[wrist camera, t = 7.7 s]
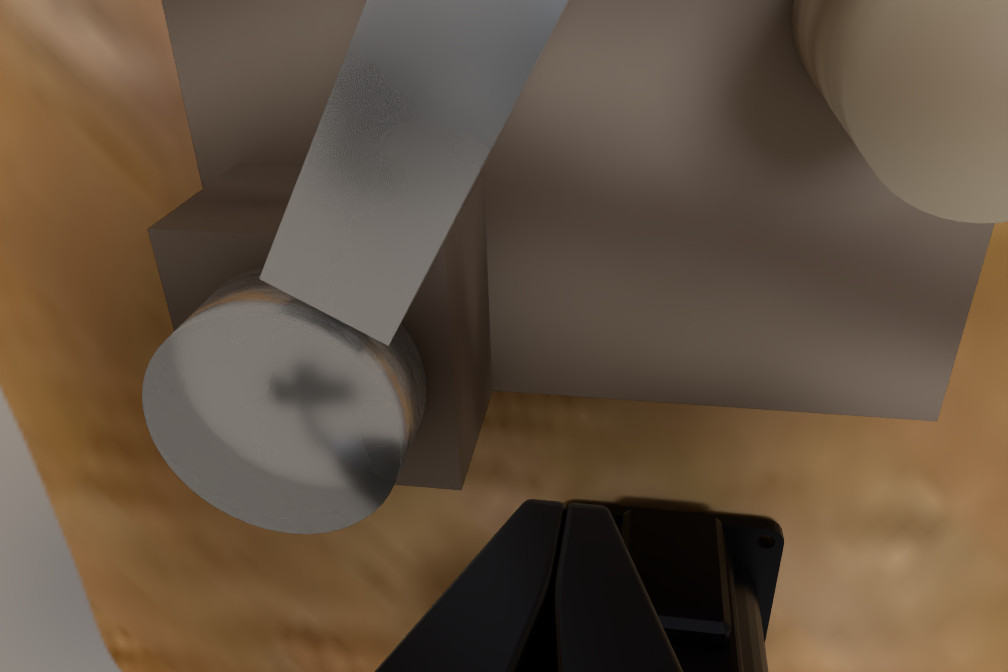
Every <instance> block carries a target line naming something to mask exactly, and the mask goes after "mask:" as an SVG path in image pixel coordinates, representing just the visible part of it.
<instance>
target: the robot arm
mask: <svg viewBox="0 0 1008 672" xmlns="http://www.w3.org/2000/svg"><path fill="white" fill-rule="evenodd" d="M765 535H768V536H772V537H770V538H767V539H762V538H759V537H761V536H765ZM783 546H784V538H783V532H782V528H781V527H780V525H779V524H777V523H776V522H774V521H771V520H767V519H756V518H744V517H733V516H722V515H710V514H699V513H688V512H676V511H665V510H654V509H642V508H631V507H620V506H609V505H597V504H586V503H571V504H569V505H567V506H566V507H565V505H564V504H563V503H562V502H558V501H547V500H536V499H529V500H527V501H525V502H524V503H523V504H522V505H521V506H520V507H519V508H518V509H517V510H516V512H515V513H514V514H513V515H512V516H511V517H510V518H509V520H508V521H507V522H506V523H505V524H504V525H503V526H502V528H501V529H500V530H499V531H498V532H497V533H496V534H495V535H494V537H493V538H492V539H491V540H490V541H489V542H488V543H487V545H486V546H485V547H484V548H483V549H482V550H481V551H480V553H479V554H478V555H477V556H476V557H475V558H474V559H473V560H472V562H471V563H470V564H469V565H468V566H467V567H466V568H465V570H464V571H463V572H462V573H461V574H460V575H459V576H458V578H457V579H456V580H455V581H454V582H453V583H452V584H451V585H450V587H449V588H448V589H447V590H446V591H445V592H444V593H443V595H442V596H441V597H440V598H439V599H438V600H437V601H436V603H435V604H434V605H433V606H432V607H431V608H430V609H429V610H428V612H427V613H426V614H425V615H424V616H423V617H422V618H421V620H420V621H419V622H418V623H417V624H416V625H415V626H414V628H413V629H412V630H411V631H410V632H409V633H408V634H407V635H406V637H405V638H404V639H403V640H402V641H401V642H400V643H399V645H398V646H397V647H396V648H395V649H394V650H393V651H392V653H391V654H390V655H389V656H388V657H387V658H386V659H385V660H384V662H383V663H382V664H381V665H380V666H379V667H378V668H377V670H376V671H375V672H768V666H767V658H766V651H765V639H766V634H767V629H768V624H769V619H770V613H771V608H772V603H773V598H774V593H775V588H776V582H777V577H778V572H779V567H780V562H781V557H782V552H783Z"/></svg>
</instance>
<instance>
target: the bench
mask: <svg viewBox="0 0 1008 672" xmlns="http://www.w3.org/2000/svg"><path fill="white" fill-rule="evenodd" d="M366 1H367V0H162V4H163V9H164V13H165V18H166V22H167V27H168V31H169V36H170V41H171V45H172V50H173V54H174V59H175V63H176V68H177V73H178V77H179V82H180V86H181V91H182V95H183V100H184V105H185V109H186V114H187V118H188V123H189V127H190V132H191V137H192V141H193V146H194V150H195V155H196V159H197V164H198V169H199V173H200V178H201V182H202V187H203V189H202V190H201V191H199V192H198V193H196V194H195V195H194V196H192V197H191V198H190V199H188V200H187V201H185V202H184V203H183V204H181V205H180V206H179V207H177V208H176V209H175V210H173V211H172V212H170V213H169V214H168V215H166V216H165V217H164V218H162V219H161V220H160V221H158V222H157V223H155V224H154V225H153V226H151V227H150V228H149V229H148V232H149V236H150V240H151V244H152V248H153V251H154V255H155V259H156V263H157V267H158V271H159V274H160V278H161V282H162V286H163V290H164V294H165V297H166V301H167V305H168V309H169V313H170V317H171V321H172V324H173V328H174V331H175V330H176V329H177V328H178V327H179V326H180V325H182V324H183V323H184V322H185V321H186V320H187V319H188V318H189V317H190V316H191V315H192V314H193V313H194V312H195V311H196V310H197V309H198V308H199V307H200V306H201V305H202V304H203V303H204V302H205V301H206V300H207V299H208V298H209V297H210V296H211V295H212V294H213V293H214V292H215V291H216V290H217V289H218V288H219V287H220V286H222V285H223V284H225V283H226V282H227V281H229V280H230V279H232V278H234V277H236V276H238V275H240V274H242V273H244V272H248V271H251V270H254V269H257V268H263V267H264V265H265V262H266V260H267V257H268V255H269V252H270V250H271V247H272V244H273V242H274V239H275V237H276V234H277V231H278V229H279V226H280V224H281V221H282V218H283V216H284V213H285V211H286V208H287V206H288V203H289V200H290V198H291V195H292V193H293V190H294V187H295V185H296V182H297V180H298V177H299V175H300V172H301V169H302V167H303V164H304V162H305V159H306V156H307V154H308V151H309V149H310V146H311V143H312V141H313V138H314V136H315V133H316V131H317V128H318V125H319V123H320V120H321V118H322V115H323V112H324V110H325V107H326V105H327V102H328V99H329V97H330V94H331V92H332V89H333V87H334V84H335V81H336V79H337V76H338V74H339V71H340V68H341V66H342V63H343V61H344V58H345V55H346V53H347V50H348V48H349V45H350V43H351V40H352V37H353V35H354V32H355V30H356V27H357V24H358V22H359V19H360V17H361V14H362V12H363V9H364V6H365V4H366ZM793 3H794V0H570V1H569V3H568V5H567V7H566V9H565V11H564V13H563V15H562V17H561V19H560V20H559V22H558V24H557V26H556V28H555V30H554V32H553V34H552V36H551V38H550V40H549V42H548V44H547V45H546V47H545V49H544V51H543V53H542V55H541V57H540V59H539V61H538V63H537V65H536V67H535V69H534V70H533V72H532V74H531V76H530V78H529V80H528V82H527V84H526V86H525V88H524V90H523V92H522V93H521V95H520V97H519V99H518V101H517V103H516V105H515V107H514V109H513V111H512V113H511V115H510V117H509V118H508V120H507V122H506V124H505V126H504V128H503V130H502V132H501V134H500V136H499V138H498V140H497V142H496V143H495V145H494V147H493V149H492V151H491V153H490V155H489V157H488V159H487V161H486V163H485V165H484V167H483V168H482V170H481V172H480V174H479V176H478V178H477V180H476V182H475V184H474V186H473V188H472V190H471V191H470V193H469V195H468V197H467V199H466V201H465V203H464V205H463V207H462V209H461V211H460V213H459V215H458V216H457V218H456V220H455V222H454V224H453V226H452V228H451V230H450V232H449V234H448V236H447V238H446V240H445V241H444V243H443V245H442V247H441V249H440V251H439V253H438V255H437V257H436V259H435V261H434V263H433V264H432V266H431V268H430V270H429V272H428V274H427V276H426V278H425V280H424V282H423V284H422V286H421V288H420V289H419V291H418V293H417V295H416V297H415V299H414V301H413V302H412V304H411V306H410V308H409V310H408V311H407V313H406V315H405V317H404V319H403V321H402V322H401V324H402V325H403V326H404V328H405V329H406V331H407V332H408V334H409V335H410V337H411V338H412V340H413V342H414V344H415V346H416V348H417V350H418V352H419V355H420V358H421V361H422V364H423V367H424V371H425V377H426V386H427V397H426V406H425V410H424V413H423V417H422V420H421V422H420V425H419V427H418V429H417V432H416V434H415V437H414V439H413V441H412V444H411V446H410V449H409V451H408V453H407V456H406V458H405V460H404V463H403V465H402V468H401V470H400V472H399V475H398V477H397V479H396V482H395V485H407V486H418V487H429V488H441V489H452V490H462V487H463V484H464V481H465V477H466V474H467V471H468V468H469V465H470V461H471V458H472V455H473V452H474V448H475V445H476V442H477V439H478V436H479V432H480V429H481V426H482V423H483V419H484V416H485V413H486V410H487V407H488V403H489V400H490V397H491V394H492V391H504V392H518V393H533V394H547V395H562V396H577V397H591V398H606V399H620V400H635V401H649V402H664V403H678V404H693V405H707V406H722V407H737V408H751V409H766V410H780V411H795V412H809V413H824V414H838V415H853V416H867V417H882V418H896V419H911V420H926V421H937V419H938V416H939V413H940V409H941V406H942V402H943V399H944V395H945V392H946V389H947V385H948V382H949V378H950V375H951V371H952V368H953V364H954V361H955V358H956V354H957V351H958V347H959V344H960V340H961V337H962V333H963V330H964V327H965V323H966V320H967V316H968V313H969V309H970V306H971V302H972V299H973V296H974V292H975V289H976V285H977V282H978V278H979V275H980V271H981V268H982V265H983V261H984V258H985V254H986V251H987V247H988V244H989V240H990V237H991V234H992V230H993V227H994V223H968V222H958V221H954V220H949V219H944V218H940V217H937V216H934V215H932V214H929V213H926V212H923V211H921V210H919V209H917V208H915V207H913V206H912V205H910V204H908V203H906V202H905V201H903V200H902V199H901V198H899V197H898V196H897V195H895V194H894V193H893V192H892V191H891V190H890V189H888V188H887V187H886V186H885V185H884V184H883V183H882V182H881V181H880V179H879V178H878V176H877V175H876V174H875V172H874V171H873V170H872V168H871V167H870V165H869V164H868V163H867V161H866V160H865V158H864V157H863V155H862V154H861V152H860V151H859V149H858V148H857V146H856V145H855V143H854V142H853V140H852V139H851V138H850V136H849V135H848V133H847V132H846V130H845V129H844V127H843V126H842V124H841V123H840V121H839V120H838V118H837V117H836V115H835V114H834V113H833V111H832V110H831V108H830V107H829V105H828V104H827V102H826V101H825V99H824V98H823V96H822V95H821V93H820V92H819V91H818V89H817V88H816V86H815V85H814V83H813V82H812V80H811V79H810V77H809V76H808V74H807V73H806V71H805V70H804V68H803V66H802V64H801V62H800V60H799V57H798V55H797V52H796V49H795V45H794V40H793V35H792V10H793Z"/></svg>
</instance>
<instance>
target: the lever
mask: <svg viewBox="0 0 1008 672" xmlns="http://www.w3.org/2000/svg"><path fill="white" fill-rule="evenodd" d="M569 1H570V0H367V1H366V4H365V6H364V9H363V12H362V14H361V17H360V19H359V22H358V24H357V27H356V30H355V32H354V35H353V37H352V40H351V43H350V45H349V48H348V50H347V53H346V55H345V58H344V61H343V63H342V66H341V68H340V71H339V74H338V76H337V79H336V81H335V84H334V87H333V89H332V92H331V94H330V97H329V99H328V102H327V105H326V107H325V110H324V112H323V115H322V118H321V120H320V123H319V125H318V128H317V131H316V133H315V136H314V138H313V141H312V143H311V146H310V149H309V151H308V154H307V156H306V159H305V162H304V164H303V167H302V169H301V172H300V175H299V177H298V180H297V182H296V185H295V187H294V190H293V193H292V195H291V198H290V200H289V203H288V206H287V208H286V211H285V213H284V216H283V218H282V221H281V224H280V226H279V229H278V231H277V234H276V237H275V239H274V242H273V244H272V247H271V250H270V252H269V255H268V257H267V260H266V262H265V265H264V267H263V268H257V269H254V270H251V271H248V272H244V273H242V274H240V275H238V276H236V277H234V278H232V279H230V280H229V281H227V282H226V283H225V284H223V285H222V286H220V287H219V288H218V289H217V290H216V291H215V292H214V293H213V294H212V295H211V296H210V297H209V298H208V299H207V300H206V301H205V302H204V303H203V304H202V305H201V306H200V307H199V308H198V309H197V310H196V311H195V312H194V313H193V314H192V315H191V316H190V317H189V318H188V319H187V320H186V321H185V322H184V323H183V324H182V325H180V326H179V327H178V328H177V329H176V330H175V331H174V332H173V333H172V334H171V335H170V336H169V337H168V338H167V339H166V340H165V341H164V342H163V343H162V345H161V346H160V347H159V348H158V349H157V351H156V352H155V354H154V355H153V357H152V358H151V360H150V362H149V365H148V367H147V369H146V372H145V377H144V381H143V389H142V402H143V412H144V416H145V420H146V424H147V427H148V429H149V432H150V434H151V437H152V440H153V441H154V443H155V445H156V447H157V449H158V451H159V452H160V454H161V455H162V457H163V458H164V460H165V461H166V463H167V464H168V465H169V467H170V468H171V469H172V470H173V471H174V473H175V474H176V475H177V476H178V477H179V478H180V479H181V480H182V481H183V482H184V483H185V484H186V485H187V486H188V487H189V488H190V489H191V490H192V491H194V492H195V493H196V494H197V495H199V496H200V497H201V498H203V499H204V500H205V501H207V502H208V503H210V504H211V505H213V506H214V507H216V508H217V509H219V510H221V511H223V512H225V513H227V514H228V515H230V516H232V517H234V518H237V519H239V520H241V521H244V522H246V523H249V524H252V525H255V526H258V527H261V528H265V529H269V530H273V531H278V532H285V533H292V534H317V533H326V532H331V531H336V530H340V529H343V528H346V527H349V526H351V525H353V524H355V523H357V522H359V521H361V520H363V519H365V518H366V517H367V516H369V515H370V514H372V513H373V512H374V511H375V510H376V509H377V508H378V507H379V506H380V505H381V504H382V503H383V502H384V501H385V499H386V498H387V497H388V495H389V494H390V492H391V490H392V488H393V486H394V484H395V482H396V479H397V477H398V475H399V472H400V470H401V468H402V465H403V463H404V460H405V458H406V456H407V453H408V451H409V449H410V446H411V444H412V441H413V439H414V437H415V434H416V432H417V429H418V427H419V425H420V422H421V420H422V417H423V413H424V410H425V406H426V397H427V386H426V377H425V371H424V367H423V364H422V361H421V358H420V355H419V352H418V350H417V348H416V346H415V344H414V342H413V340H412V338H411V337H410V335H409V334H408V332H407V331H406V329H405V328H404V326H403V325H402V324H401V322H402V321H403V319H404V317H405V315H406V313H407V311H408V310H409V308H410V306H411V304H412V302H413V301H414V299H415V297H416V295H417V293H418V291H419V289H420V288H421V286H422V284H423V282H424V280H425V278H426V276H427V274H428V272H429V270H430V268H431V266H432V264H433V263H434V261H435V259H436V257H437V255H438V253H439V251H440V249H441V247H442V245H443V243H444V241H445V240H446V238H447V236H448V234H449V232H450V230H451V228H452V226H453V224H454V222H455V220H456V218H457V216H458V215H459V213H460V211H461V209H462V207H463V205H464V203H465V201H466V199H467V197H468V195H469V193H470V191H471V190H472V188H473V186H474V184H475V182H476V180H477V178H478V176H479V174H480V172H481V170H482V168H483V167H484V165H485V163H486V161H487V159H488V157H489V155H490V153H491V151H492V149H493V147H494V145H495V143H496V142H497V140H498V138H499V136H500V134H501V132H502V130H503V128H504V126H505V124H506V122H507V120H508V118H509V117H510V115H511V113H512V111H513V109H514V107H515V105H516V103H517V101H518V99H519V97H520V95H521V93H522V92H523V90H524V88H525V86H526V84H527V82H528V80H529V78H530V76H531V74H532V72H533V70H534V69H535V67H536V65H537V63H538V61H539V59H540V57H541V55H542V53H543V51H544V49H545V47H546V45H547V44H548V42H549V40H550V38H551V36H552V34H553V32H554V30H555V28H556V26H557V24H558V22H559V20H560V19H561V17H562V15H563V13H564V11H565V9H566V7H567V5H568V3H569Z"/></svg>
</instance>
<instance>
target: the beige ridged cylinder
mask: <svg viewBox="0 0 1008 672" xmlns="http://www.w3.org/2000/svg"><path fill="white" fill-rule="evenodd" d="M792 35H793V40H794V45H795V49H796V52H797V55H798V57H799V60H800V62H801V64H802V66H803V68H804V70H805V71H806V73H807V74H808V76H809V77H810V79H811V80H812V82H813V83H814V85H815V86H816V88H817V89H818V91H819V92H820V93H821V95H822V96H823V98H824V99H825V101H826V102H827V104H828V105H829V107H830V108H831V110H832V111H833V113H834V114H835V115H836V117H837V118H838V120H839V121H840V123H841V124H842V126H843V127H844V129H845V130H846V132H847V133H848V135H849V136H850V138H851V139H852V140H853V142H854V143H855V145H856V146H857V148H858V149H859V151H860V152H861V154H862V155H863V157H864V158H865V160H866V161H867V163H868V164H869V165H870V167H871V168H872V170H873V171H874V172H875V174H876V175H877V176H878V178H879V179H880V181H881V182H882V183H883V184H884V185H885V186H886V187H887V188H888V189H890V190H891V191H892V192H893V193H894V194H895V195H897V196H898V197H899V198H901V199H902V200H903V201H905V202H906V203H908V204H910V205H912V206H913V207H915V208H917V209H919V210H921V211H923V212H926V213H929V214H932V215H934V216H937V217H940V218H944V219H949V220H954V221H958V222H968V223H1001V222H1008V0H794V3H793V10H792Z"/></svg>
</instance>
